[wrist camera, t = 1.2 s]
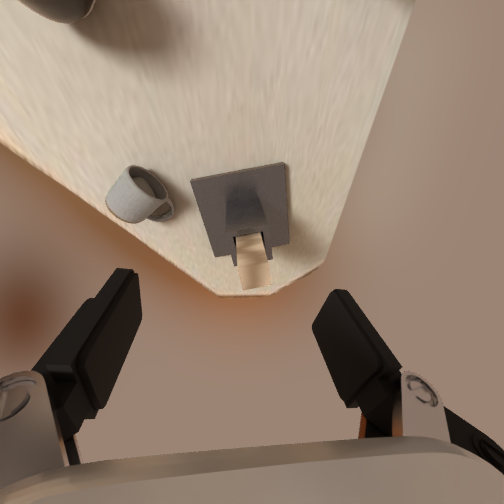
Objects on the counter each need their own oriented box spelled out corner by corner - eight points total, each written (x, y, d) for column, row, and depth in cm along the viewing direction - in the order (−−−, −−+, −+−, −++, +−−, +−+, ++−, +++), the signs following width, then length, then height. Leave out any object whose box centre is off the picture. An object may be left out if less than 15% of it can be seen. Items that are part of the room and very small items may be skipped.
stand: (282, 162, 39) (304, 181, 28) (287, 240, 49) (304, 277, 38) (191, 179, 39) (176, 205, 28) (215, 253, 49) (211, 294, 38)
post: (253, 206, 41) (268, 262, 26) (256, 224, 43) (271, 285, 28) (234, 210, 41) (237, 268, 26) (238, 228, 43) (242, 290, 28)
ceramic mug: (113, 190, 39) (91, 205, 33) (138, 160, 36) (120, 170, 30) (160, 226, 44) (149, 245, 38) (185, 201, 42) (178, 218, 35)
